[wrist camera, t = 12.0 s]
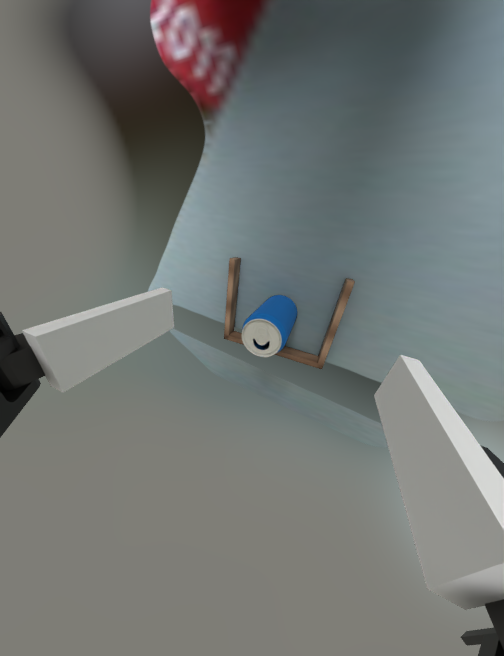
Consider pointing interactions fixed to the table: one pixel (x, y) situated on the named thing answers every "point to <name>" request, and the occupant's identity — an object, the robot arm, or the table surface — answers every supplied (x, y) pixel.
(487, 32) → the table surface
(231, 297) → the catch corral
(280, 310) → the beverage can
